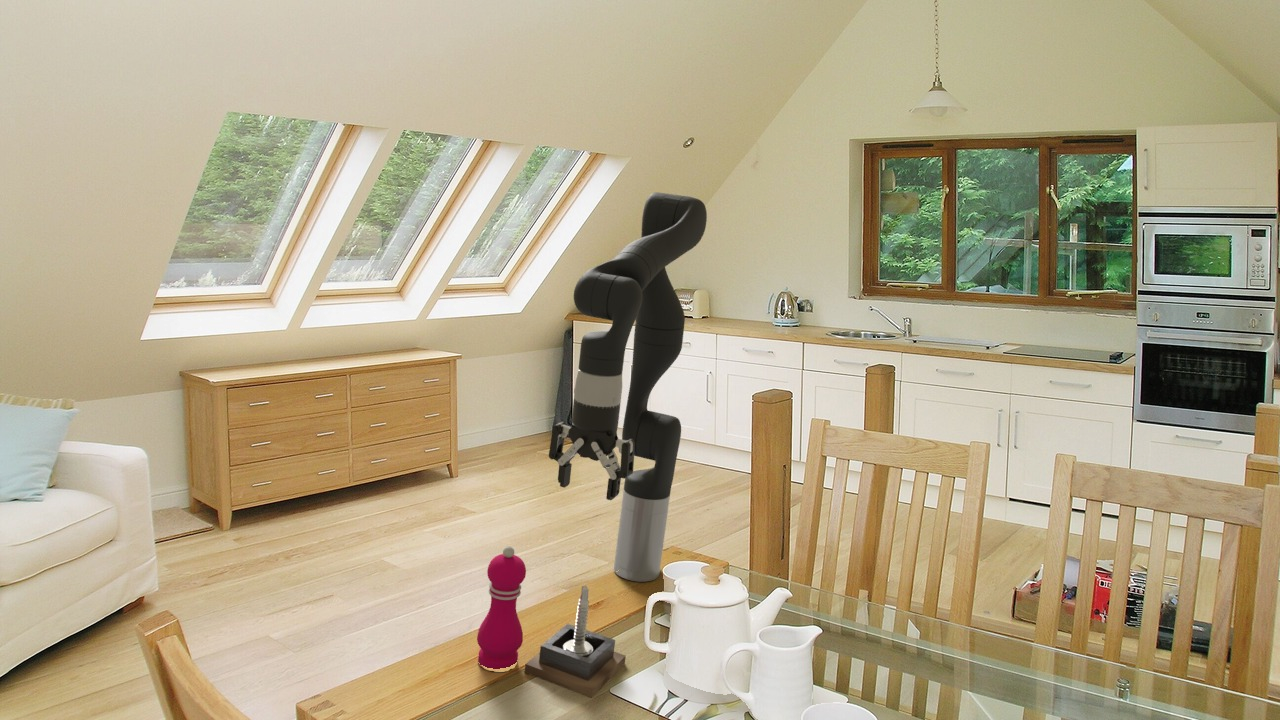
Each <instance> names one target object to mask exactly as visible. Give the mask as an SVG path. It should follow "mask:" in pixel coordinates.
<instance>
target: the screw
mask: <svg viewBox="0 0 1280 720" xmlns="http://www.w3.org/2000/svg"><path fill="white" fill-rule="evenodd" d="M589 591H590V590H589V588H588V586H587V585H583V586H581V592H580V595H579V598H578V602H577V604H578V605H577V609H576V611H577V612H576V616H575V617H576V618H575V623H574V624H575V625H574V626H575V628H576V629H575V633H574V634H575V636H574V638H575V639H573V640H569V641H568V642H566V643H565V644H564V645H563V649H564V650H566V651H569V652H572V653H575V654H578V655H580V656H583V657H587V656H589V655H591V654H592V653H593V647H592V645H591V644H589V643H588V642H586V641H585V634H586V630H587V624H588V622H587V621H588V618H589V607H590V601H589Z"/></svg>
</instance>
